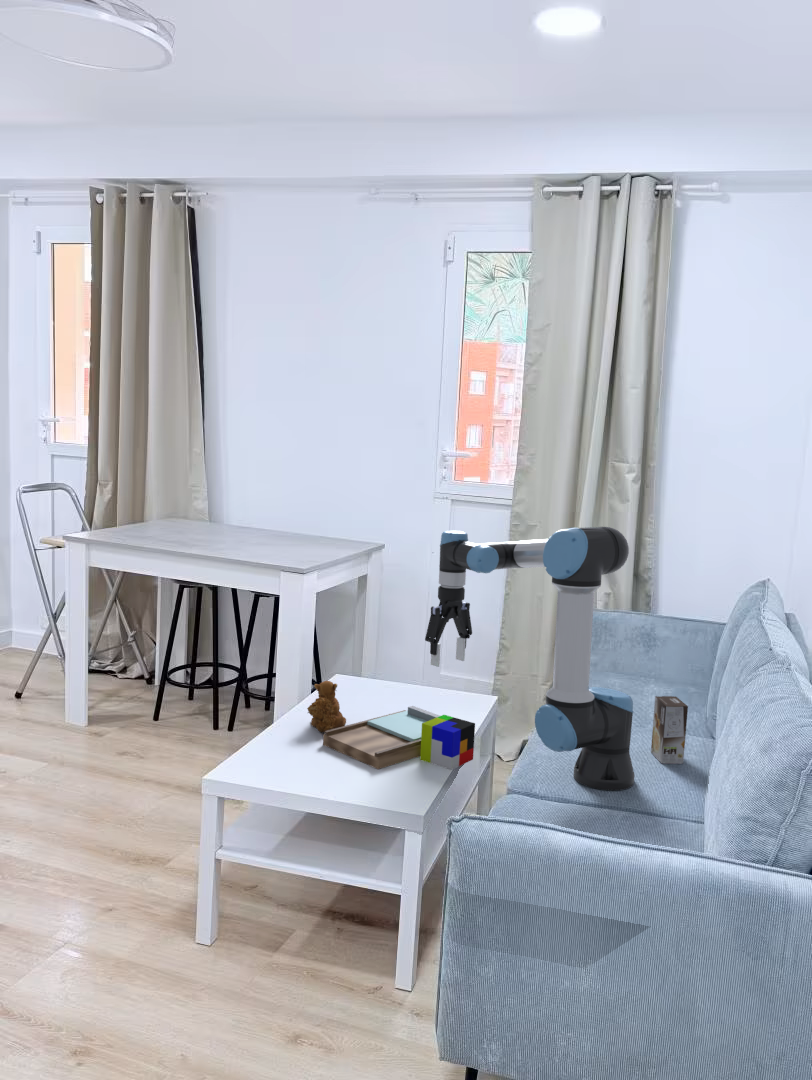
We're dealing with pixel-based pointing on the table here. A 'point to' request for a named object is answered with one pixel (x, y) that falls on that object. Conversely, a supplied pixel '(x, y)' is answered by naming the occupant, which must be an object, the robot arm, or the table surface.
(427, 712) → the lid
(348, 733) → the wooden box
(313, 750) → the table surface
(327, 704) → the brown furry figure
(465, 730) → the puzzle toy
